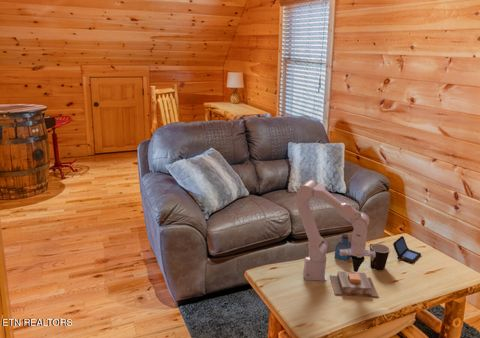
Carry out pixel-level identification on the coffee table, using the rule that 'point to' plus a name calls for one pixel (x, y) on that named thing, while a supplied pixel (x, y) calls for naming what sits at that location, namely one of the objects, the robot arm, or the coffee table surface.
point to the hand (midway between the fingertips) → (355, 270)
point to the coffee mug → (379, 256)
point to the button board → (338, 292)
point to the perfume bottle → (343, 245)
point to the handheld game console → (405, 251)
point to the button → (354, 278)
